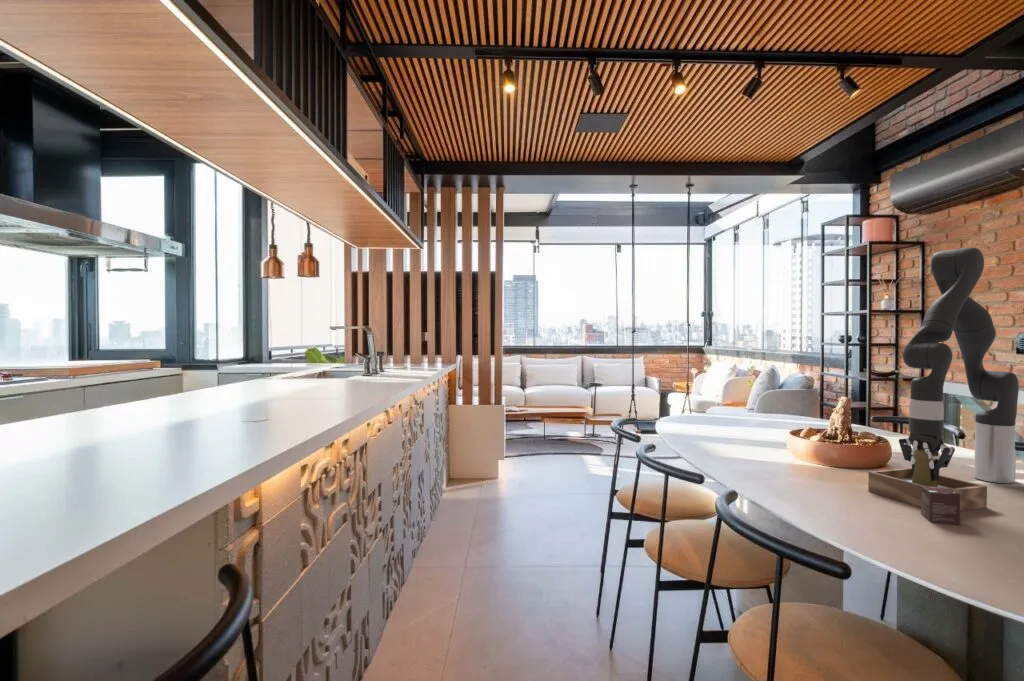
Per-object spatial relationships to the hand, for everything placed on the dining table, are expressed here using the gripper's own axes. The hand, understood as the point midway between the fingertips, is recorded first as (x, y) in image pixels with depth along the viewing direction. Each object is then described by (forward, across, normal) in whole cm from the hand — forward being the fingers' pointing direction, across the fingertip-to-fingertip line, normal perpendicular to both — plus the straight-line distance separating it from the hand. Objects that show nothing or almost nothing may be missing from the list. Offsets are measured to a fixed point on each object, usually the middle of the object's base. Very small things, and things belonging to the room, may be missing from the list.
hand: (924, 479), depth 149 cm
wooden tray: (+5, 0, 0) cm, 5 cm away
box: (+5, -13, +13) cm, 19 cm away
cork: (+3, 0, 0) cm, 3 cm away
